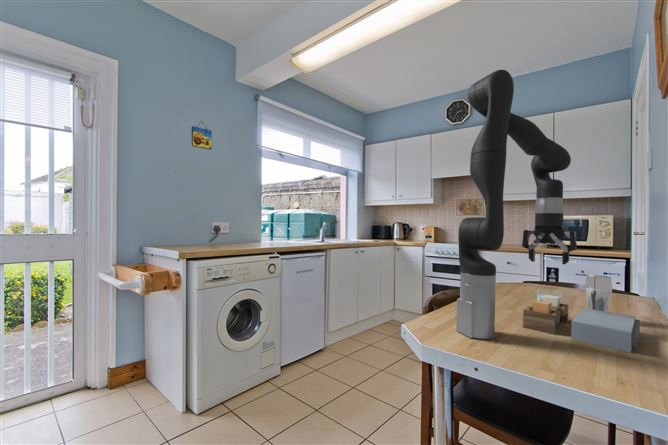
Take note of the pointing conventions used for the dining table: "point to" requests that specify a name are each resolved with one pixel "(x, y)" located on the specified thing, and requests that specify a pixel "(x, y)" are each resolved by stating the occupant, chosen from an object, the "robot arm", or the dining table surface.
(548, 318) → the brown wooden box
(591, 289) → the beer glass
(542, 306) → the orange cube
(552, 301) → the crate cream
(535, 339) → the dining table surface
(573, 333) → the block
